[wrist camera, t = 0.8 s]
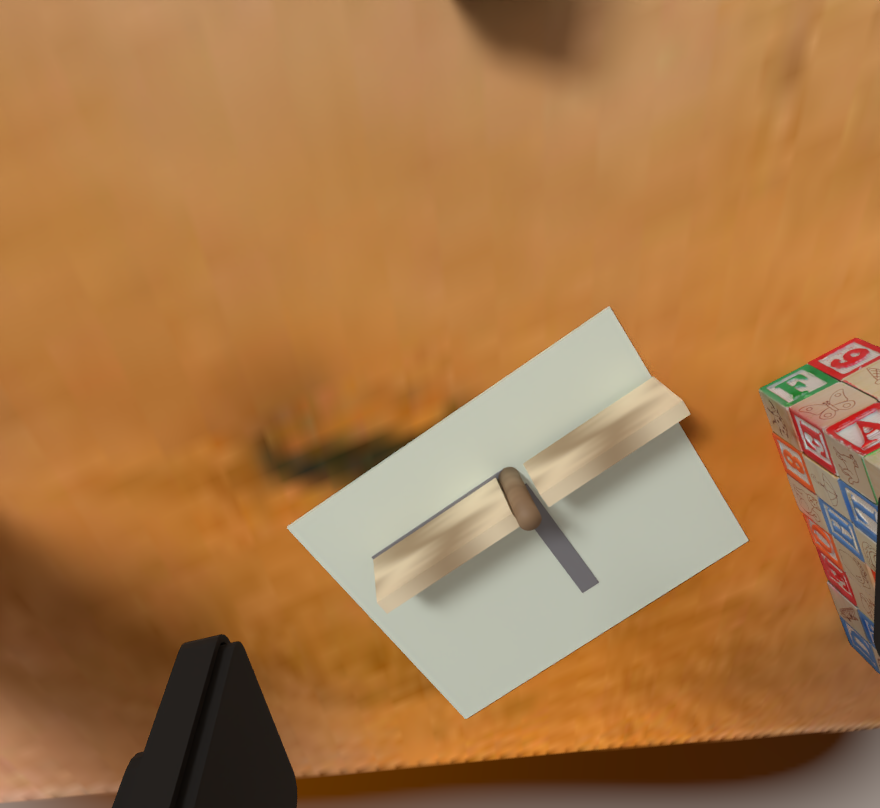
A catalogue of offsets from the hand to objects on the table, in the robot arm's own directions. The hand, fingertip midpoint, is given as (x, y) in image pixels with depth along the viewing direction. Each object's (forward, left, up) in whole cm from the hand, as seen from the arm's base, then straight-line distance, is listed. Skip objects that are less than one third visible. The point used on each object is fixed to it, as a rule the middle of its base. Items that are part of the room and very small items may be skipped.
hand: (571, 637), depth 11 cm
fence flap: (+3, -13, -27) cm, 30 cm away
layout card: (-3, -17, -28) cm, 32 cm away
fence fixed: (-6, -13, -28) cm, 31 cm away
